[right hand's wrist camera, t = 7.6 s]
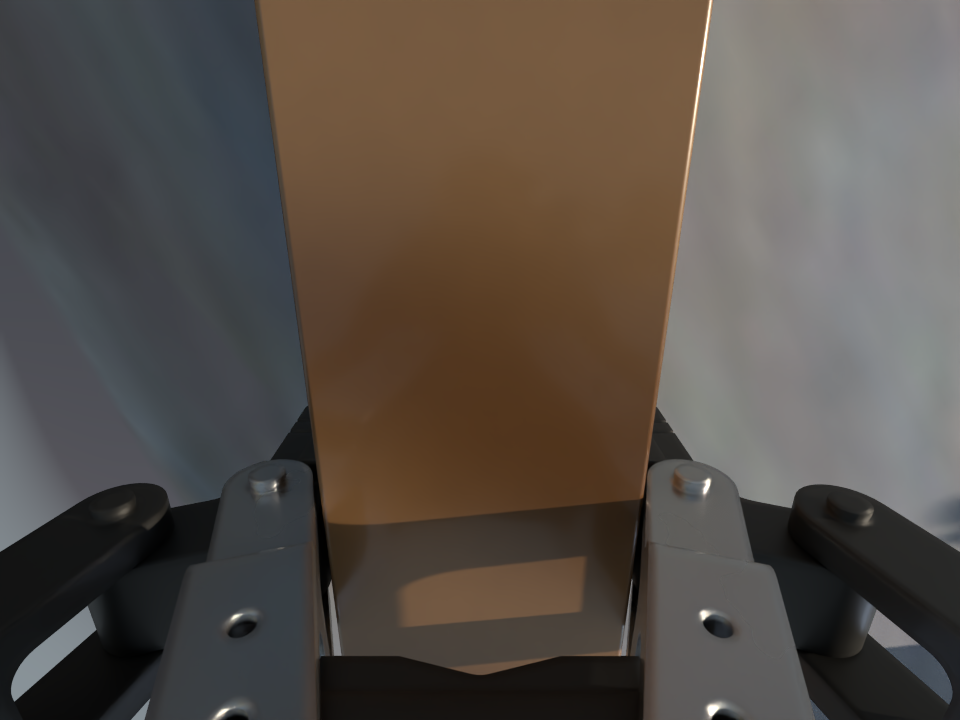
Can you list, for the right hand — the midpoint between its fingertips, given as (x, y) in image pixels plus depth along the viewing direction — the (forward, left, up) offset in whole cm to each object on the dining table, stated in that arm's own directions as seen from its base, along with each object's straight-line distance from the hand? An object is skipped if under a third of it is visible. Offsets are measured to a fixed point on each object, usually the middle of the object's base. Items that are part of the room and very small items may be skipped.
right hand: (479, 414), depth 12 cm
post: (+22, +10, -3) cm, 25 cm away
